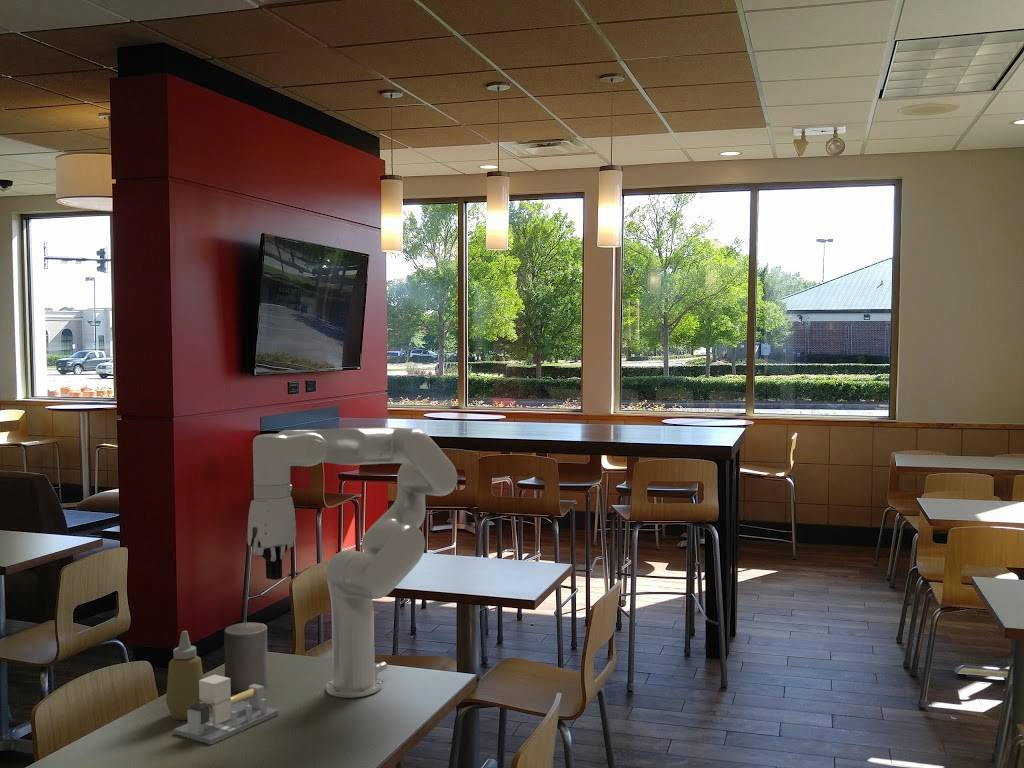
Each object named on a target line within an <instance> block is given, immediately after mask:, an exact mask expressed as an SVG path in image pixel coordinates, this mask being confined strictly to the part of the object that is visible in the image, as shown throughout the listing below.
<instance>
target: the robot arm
mask: <svg viewBox="0 0 1024 768" xmlns="http://www.w3.org/2000/svg"><path fill="white" fill-rule="evenodd" d="M252 458H253V460H252V463H253V466H252V469H253V500H251V502H250V505H249V511H248V516H247V517H248V519H247V522H248V523H247V545H248V546H249V547H252V554H253V555H257V556H261V557H262V559H263V561H265V579H268V580H274V581H277V580H281V579H282V578H283V560H284V559H285V555H286V553H287V550H289V549H290V548H292V547H293V546H294V545H295V543H294V541H295V540H296V537H297V526H296V525H297V519H296V513H295V512H296V510H295V505H294V502H293V501H294V500H293V497H292V496H291V493H292V492H291V491H292V489H293V485H292V484H291V466H292V467H295V466H297V467H313V466H316V465H318V464H321V463H327V464H335V465H343V466H361V465H363V466H365V465H380V464H381V465H382V464H383V465H385V464H401V465H400V467H399V469H398V471H397V476H396V481H397V482H396V483H397V492H396V493H397V494H396V498H395V500H394V502H393V504H391V506H390V507H389V508H388V509H387V510H386V511H385V512H384V513H383V514H382V515H381V516H380V517H379V518H378V519H377V520H376V521H375V522H374V523H373V524H372V525H371V526H369V528H368V530H366V531H365V533H364V535H363V537H362V541H361V548H362V551H358V550H353V549H352V550H351V549H350V550H346V549H345V550H342V551H339V552H337V553H336V554H334V555H333V556H332V557H331V558H330V560H329V561H328V564H327V567H326V582H327V587H328V591H329V598H330V607H331V644H332V646H331V647H332V649H331V651H332V654H331V655H332V680H330V681H328V682H327V684H326V685H325V689H326V691H325V692H326V693H327V694H329V695H330V696H333V697H337V698H345V699H346V698H347V699H348V698H351V699H352V698H361V697H362V698H363V697H367V696H369V695H373V694H375V693H377V692H379V691H380V690H381V688H382V687H383V682H382V681H383V680H382V679H380V678H379V677H378V675H379V673H381V672H384V671H386V670H387V668H388V664H387V663H386V662H385V661H381V662H379V663H377V664H376V662H375V661H376V660H375V657H376V656H375V611H374V604H373V600H379V599H383V598H384V597H386V596H389V594H390V593H391V592H393V590H395V588H396V587H398V585H399V584H400V583H401V582H402V581H403V580H404V579H405V578H406V576H408V574H409V573H410V572H411V571H412V570H413V569H414V568H415V567H416V566H417V565H418V563H419V562H420V561H421V559H422V557H423V555H424V552H425V548H426V539H425V538H426V537H425V536H424V533H423V532H422V530H421V529H420V527H421V526H422V524H423V522H424V521H425V518H426V512H427V511H426V509H427V508H426V495H428V496H435V497H436V496H437V497H443V496H447V495H450V494H451V493H453V491H454V490H455V488H456V486H457V483H458V472H457V470H456V467H455V465H454V464H453V463H452V461H451V459H449V457H448V456H447V455H446V454H445V452H443V450H442V449H441V448H440V447H439V445H438V444H437V443H436V442H435V441H434V440H433V439H432V438H431V437H430V436H429V435H428V434H427V433H426V432H425V431H423V430H421V429H419V428H413V427H412V428H410V427H345V428H331V429H330V428H329V429H284V430H281V431H279V432H278V433H266V434H265V433H263V434H258V435H256V436H255V437H254V438H253V441H252Z"/></svg>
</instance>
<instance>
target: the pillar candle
mask: <svg viewBox="0 0 1024 768" xmlns="http://www.w3.org/2000/svg"><path fill="white" fill-rule="evenodd" d="M223 644H224V677H227V678H230V685H231V694H235V693H238V694H239V693H242V692H244V691H247V690H249V686H250V685H253V684H257V685H261V686H264V687H265V688H267V685H268V682H269V681H268V677H269V676H268V675H269V674H268V667H269V666H268V626H267V625H266V624H264V623H260V622H240V623H236V624H232V625H231V624H230V626H226V628H225V629H224V643H223Z"/></svg>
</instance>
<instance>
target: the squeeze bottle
mask: <svg viewBox="0 0 1024 768" xmlns="http://www.w3.org/2000/svg"><path fill="white" fill-rule="evenodd" d="M179 638H180V639H179V643H178V646H177V647H175V648H174V649H173V651H172V652H173V653H172V654H173V657H172V659H171V660H170V661H168V673H167V685H166V698H165V702H166V703H165V704H166V705H167V708H168V710H169V713H170V716H171V718H172V719H174V720H180V721H182V720H183V721H184V720H188V716H187V710H189V709H190V706H191V705H194V704H197V703H200V700H199V680H201V679H204V672H203V665H202V658H201V657H200V656H198V655H197V646H195V645H191V641H190V636H189V633H188V630H182V631H181V633H180V637H179Z"/></svg>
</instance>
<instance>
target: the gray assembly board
mask: <svg viewBox="0 0 1024 768" xmlns="http://www.w3.org/2000/svg"><path fill="white" fill-rule="evenodd" d="M247 699H248V701H245V700H247ZM267 703H268V702H267V698H265V688H264V686H261V685H257V684H253V685H250V686H249V690H247V691H244V692H242V693H239V694H235V695H231V719H229V720H226V721H224V722H222V723H219V724H217V725H214V724H213V718H210V719H209V714H212V705H210V704H209V705H205V704H201V703H197V704H194V705H191V706H190V709H189V710H187V716H188V719H187V723H185V724H183V725H181V726H178V727H176V728H174V729H173V734H174V735H176V734H177V735H176V736H179V735H180V737H182V736H183V738H186V737H187V738H186V739H189V738H191V739H190V740H193V739H194V740H193V741H196V740H197V741H196V742H199V741H200V742H199V743H203V742H204V744H206V743H207V745H209V746H212V745H215V744H217V743H219V742H220V740H221V741H222V740H225V739H227V737H228V738H230V737H232V736H234V735H236V733H237V734H238V732H239V733H241V732H243V731H246V730H248V729H250V728H252V727H254V726H253V725H255V726H257V725H258V723H259V724H261V723H263V722H262V721H264V722H266V721H268V720H270V719H273V718H274V717H273V716H275V717H277V716H279V715H278V714H279V713H280V711H279V709H276V708H271V707H269V706H268V705H267ZM276 715H277V716H276ZM272 717H273V718H272ZM269 718H270V719H269ZM267 719H268V720H267ZM265 720H266V721H265ZM260 722H261V723H260ZM256 724H257V725H256ZM251 726H252V727H251ZM249 727H250V728H249ZM247 728H248V729H247ZM245 729H246V730H245ZM229 736H230V737H229ZM211 744H212V745H211Z"/></svg>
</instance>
